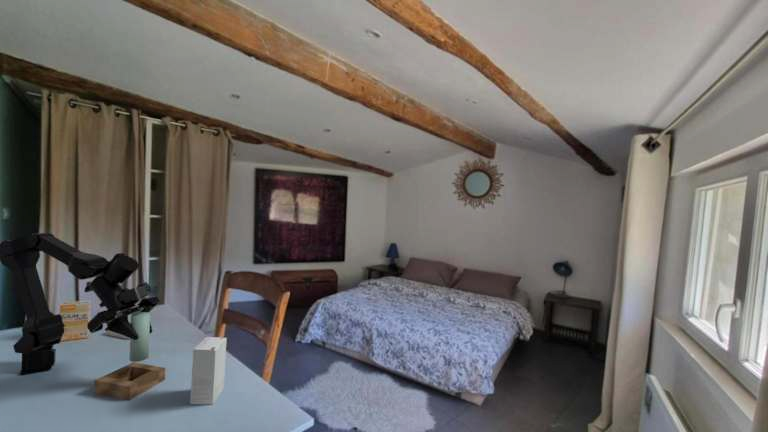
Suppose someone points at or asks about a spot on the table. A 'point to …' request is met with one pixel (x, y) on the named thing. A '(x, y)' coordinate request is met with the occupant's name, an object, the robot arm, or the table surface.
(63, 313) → the supplement box
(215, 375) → the skincare box
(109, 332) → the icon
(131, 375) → the square wooden frame
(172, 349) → the table surface
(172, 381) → the table surface
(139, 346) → the sage peg
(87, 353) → the table surface
